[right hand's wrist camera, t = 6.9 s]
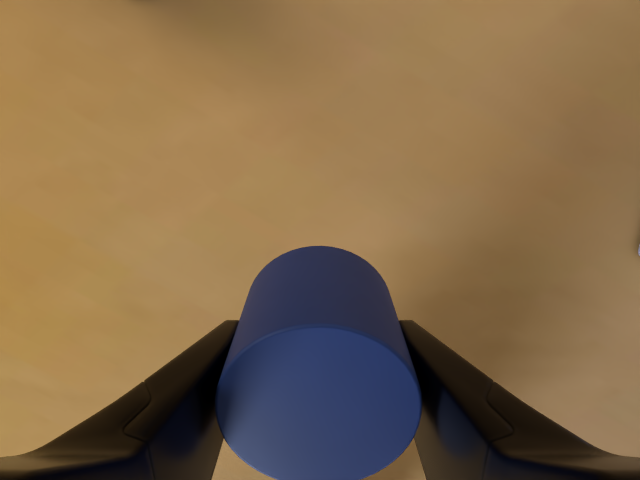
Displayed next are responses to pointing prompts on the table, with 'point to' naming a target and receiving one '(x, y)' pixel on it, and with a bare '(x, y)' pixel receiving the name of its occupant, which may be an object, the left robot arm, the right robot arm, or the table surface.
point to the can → (318, 371)
